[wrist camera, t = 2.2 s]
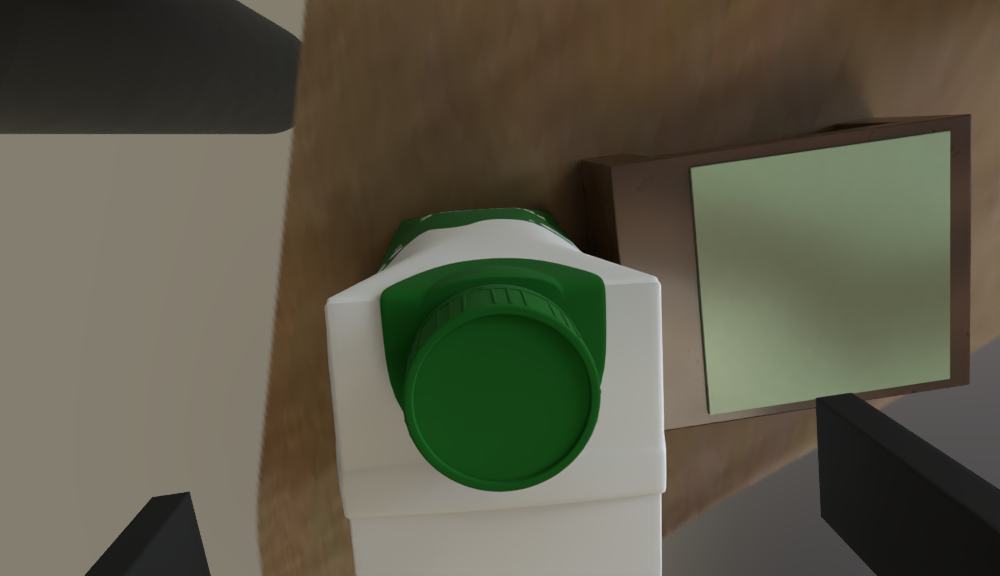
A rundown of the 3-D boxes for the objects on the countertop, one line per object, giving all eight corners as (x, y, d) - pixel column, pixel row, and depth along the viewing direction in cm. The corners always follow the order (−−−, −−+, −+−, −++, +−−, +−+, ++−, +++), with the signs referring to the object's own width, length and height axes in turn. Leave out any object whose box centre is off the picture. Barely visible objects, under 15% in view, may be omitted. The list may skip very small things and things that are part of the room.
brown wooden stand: (580, 159, 33) (610, 165, 26) (875, 117, 33) (976, 113, 27) (605, 381, 35) (638, 438, 29) (879, 340, 36) (973, 386, 29)
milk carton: (568, 190, 33) (722, 269, 14) (574, 374, 35) (717, 671, 16) (379, 202, 33) (264, 299, 13) (396, 387, 35) (317, 707, 15)
